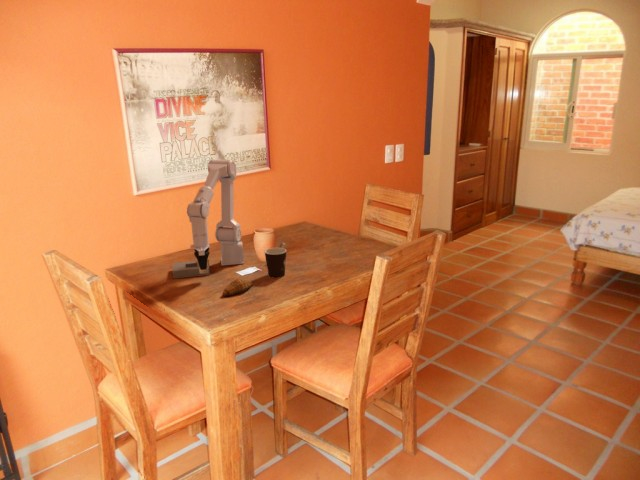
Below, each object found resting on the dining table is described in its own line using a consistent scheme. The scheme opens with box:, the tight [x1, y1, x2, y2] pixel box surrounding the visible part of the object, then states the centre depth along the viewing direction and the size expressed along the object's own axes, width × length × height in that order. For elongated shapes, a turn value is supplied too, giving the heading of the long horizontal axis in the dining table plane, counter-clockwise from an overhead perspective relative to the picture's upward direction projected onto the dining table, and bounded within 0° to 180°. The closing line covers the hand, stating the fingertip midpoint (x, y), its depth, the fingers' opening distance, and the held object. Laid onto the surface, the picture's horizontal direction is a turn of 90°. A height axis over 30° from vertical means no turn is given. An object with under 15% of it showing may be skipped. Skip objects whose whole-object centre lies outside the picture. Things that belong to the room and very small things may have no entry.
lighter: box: [278, 242, 286, 249], centre depth 206 cm, size 7×2×8 cm, turn 131°
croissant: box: [222, 279, 254, 297], centre depth 176 cm, size 14×7×5 cm, turn 140°
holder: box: [172, 259, 210, 279], centre depth 196 cm, size 14×11×3 cm
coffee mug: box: [264, 247, 287, 279], centre depth 191 cm, size 12×9×10 cm
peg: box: [199, 264, 208, 273], centre depth 185 cm, size 3×3×6 cm
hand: (203, 267), depth 185 cm, fingers closed on peg, 3 cm apart
